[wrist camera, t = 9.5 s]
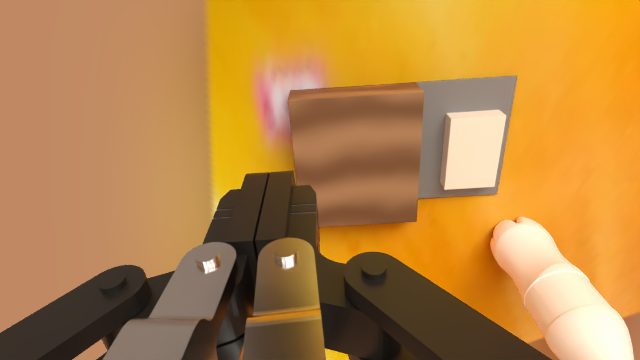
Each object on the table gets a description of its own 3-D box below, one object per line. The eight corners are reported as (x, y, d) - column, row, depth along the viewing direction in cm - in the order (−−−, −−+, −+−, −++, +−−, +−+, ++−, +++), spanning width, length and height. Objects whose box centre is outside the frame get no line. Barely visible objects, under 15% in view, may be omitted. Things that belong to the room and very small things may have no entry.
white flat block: (506, 115, 43) (499, 109, 45) (451, 118, 43) (446, 113, 45) (494, 186, 47) (488, 178, 49) (444, 189, 47) (439, 181, 49)
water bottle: (545, 239, 54) (703, 426, 32) (495, 261, 55) (611, 452, 33) (528, 201, 51) (688, 378, 29) (476, 226, 53) (589, 410, 31)
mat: (415, 82, 43) (416, 82, 43) (516, 75, 43) (517, 76, 43) (410, 197, 50) (410, 199, 50) (496, 192, 50) (497, 194, 50)
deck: (290, 90, 44) (287, 100, 40) (415, 82, 43) (424, 92, 40) (302, 210, 51) (301, 228, 48) (409, 204, 51) (416, 221, 47)
